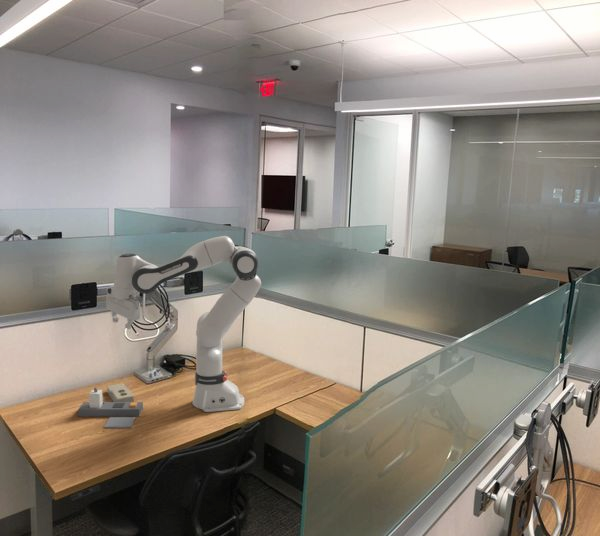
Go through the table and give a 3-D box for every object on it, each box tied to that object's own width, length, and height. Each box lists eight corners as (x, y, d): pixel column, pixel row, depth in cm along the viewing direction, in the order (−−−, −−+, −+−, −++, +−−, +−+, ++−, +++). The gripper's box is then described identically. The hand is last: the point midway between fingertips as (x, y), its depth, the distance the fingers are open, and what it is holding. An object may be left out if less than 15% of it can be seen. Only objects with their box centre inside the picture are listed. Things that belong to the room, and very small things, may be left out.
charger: (102, 410, 213) (102, 386, 212) (99, 414, 209) (99, 390, 208) (92, 410, 213) (92, 386, 211) (89, 414, 209) (89, 390, 207)
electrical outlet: (123, 381, 235) (134, 395, 220) (123, 389, 236) (134, 404, 221) (106, 383, 231) (116, 398, 216) (107, 392, 232) (117, 407, 217)
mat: (135, 418, 207) (135, 417, 207) (130, 428, 199) (130, 426, 199) (110, 418, 206) (110, 417, 206) (104, 428, 199) (104, 426, 198)
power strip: (142, 408, 216) (142, 400, 216) (139, 416, 209) (139, 407, 209) (84, 408, 214) (83, 400, 214) (78, 416, 207) (78, 407, 207)
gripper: (146, 298, 206) (142, 331, 208) (118, 286, 218) (115, 317, 221) (132, 299, 201) (129, 333, 203) (104, 287, 214) (101, 319, 216)
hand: (121, 325), depth 212 cm, fingers open, 8 cm apart
